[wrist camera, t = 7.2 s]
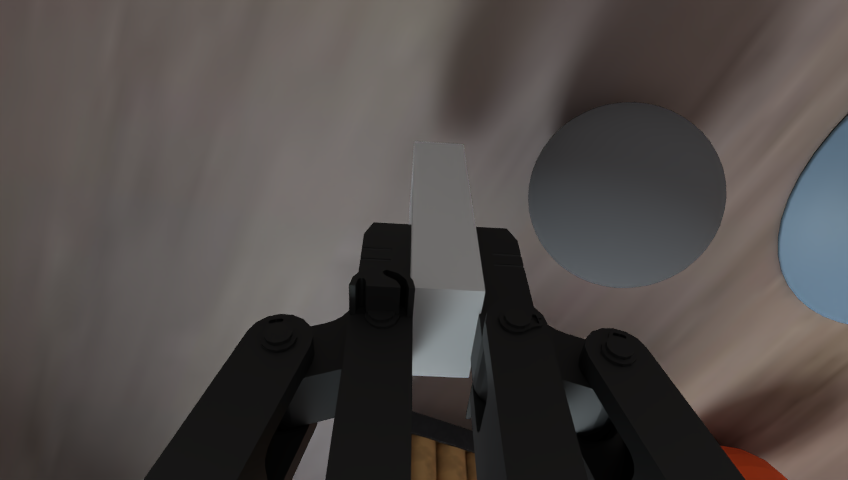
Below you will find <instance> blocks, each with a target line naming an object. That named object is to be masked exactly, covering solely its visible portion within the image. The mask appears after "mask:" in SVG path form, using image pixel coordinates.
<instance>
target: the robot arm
mask: <svg viewBox="0 0 848 480" xmlns="http://www.w3.org/2000/svg"><path fill="white" fill-rule="evenodd" d="M470 368H471V369H472V380H473V383H472V388H471V393H470V398H469V403H468V407H467V413H466V419H471V417H472V429H473V440H474V452H475V463H476V475H477V480H745V478H744V477H743V476H742V474H741V473H740V472H739V470H738V469H737V468H736V466H735V465H734V464H733V462H732V461H731V460H730V458H729V457H728V456H727V454H726V453H725V452H724V450H723V449H722V448H721V446H720V445H719V444H718V442H717V441H716V440H715V438H714V437H713V436H712V434H711V433H710V432H709V430H708V429H707V428H706V426H705V425H704V424H703V422H702V421H701V420H700V418H699V417H698V416H697V414H696V413H695V412H694V410H693V409H692V408H691V406H690V405H689V404H688V402H687V401H686V400H685V398H684V397H683V396H682V394H681V393H680V392H679V390H678V389H677V388H676V386H675V385H674V384H673V382H672V381H671V380H670V378H669V377H668V376H667V374H666V373H665V372H664V370H663V369H662V368H661V366H660V365H659V364H658V362H657V361H656V360H655V358H654V357H653V356H652V354H651V353H650V352H649V350H648V349H647V348H646V347H645V346H644V345H643V344H642V343H641V342H640V341H639V340H638V339H637V338H635V337H634V336H632V335H630V334H628V333H627V332H624V331H621V330H617V329H614V328H601V329H598V330H595V331H592V332H591V333H590V335H589V336H588V337H587V338H586V339H582V338H579V337H576V336H572V335H569V334H565V333H563V332H560V331H558V330H556V329H554V328H552V327H550V326H549V325H547V322H546V320H545V318H544V317H543V315H542V314H541V313H540V312H539V311H538V310H536V309H535V308H534V306H533V302H532V298H531V294H530V290H529V286H528V282H527V278H526V274H525V270H524V268H523V262H522V258H521V254H520V249H519V245H518V241H517V240H516V239H515V238H514V236H513V235H512V234H511V233H510V232H509V231H508V230H507V229H503V228H485V227H476V224H475V218H474V211H473V204H472V197H471V190H470V183H469V177H468V170H467V163H466V156H465V149H464V144H454V143H438V142H423V141H414V152H413V166H412V181H411V195H410V210H409V224H392V223H373V224H372V225H371V226H370V227H369V229H368V230H367V231H366V232H365V233H364V238H363V245H362V252H361V260H360V266H359V272H358V273H357V274H356V275H355V276H353V278H352V280H351V282H350V284H349V311H348V312H347V313H346V314H344V315H343V316H342V317H340V318H338V319H336V320H334V321H331V322H328V323H325V324H320V325H315V326H310V325H309V324H308V323H307V322H306V321H305V320H304V319H301V318H299V317H297V316H294V315H286V314H278V315H273V316H268V317H266V318H264V319H262V320H260V321H258V322H256V323H255V324H254V325H253V326H252V327H251V328H250V329H249V330H248V331H247V332H246V334H245V335H244V337H243V338H242V339H241V341H240V342H239V344H238V345H237V347H236V348H235V350H234V351H233V352H232V354H231V355H230V357H229V358H228V360H227V361H226V362H225V364H224V365H223V367H222V368H221V370H220V371H219V372H218V374H217V375H216V377H215V378H214V380H213V381H212V382H211V384H210V385H209V387H208V388H207V390H206V391H205V392H204V394H203V395H202V397H201V398H200V400H199V401H198V403H197V404H196V405H195V407H194V408H193V410H192V411H191V413H190V414H189V415H188V417H187V418H186V420H185V421H184V423H183V424H182V425H181V427H180V428H179V430H178V431H177V433H176V434H175V435H174V437H173V438H172V440H171V441H170V443H169V444H168V446H167V447H166V448H165V450H164V451H163V453H162V454H161V456H160V457H159V458H158V460H157V461H156V463H155V464H154V466H153V467H152V468H151V470H150V471H149V473H148V474H147V476H146V477H145V478H144V480H292V478H293V476H294V474H295V472H296V470H297V467H298V465H299V463H300V461H301V459H302V457H303V454H304V452H305V450H306V448H307V446H308V443H309V441H310V439H311V437H312V435H313V433H314V430H315V428H316V426H317V422H319V421H323V420H327V419H331V418H334V417H335V418H334V425H333V431H332V438H331V445H330V452H329V459H328V466H327V473H326V479H325V480H411V436H412V376H435V377H458V378H469V373H470Z"/></svg>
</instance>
